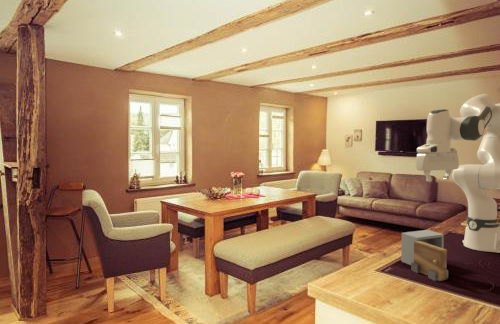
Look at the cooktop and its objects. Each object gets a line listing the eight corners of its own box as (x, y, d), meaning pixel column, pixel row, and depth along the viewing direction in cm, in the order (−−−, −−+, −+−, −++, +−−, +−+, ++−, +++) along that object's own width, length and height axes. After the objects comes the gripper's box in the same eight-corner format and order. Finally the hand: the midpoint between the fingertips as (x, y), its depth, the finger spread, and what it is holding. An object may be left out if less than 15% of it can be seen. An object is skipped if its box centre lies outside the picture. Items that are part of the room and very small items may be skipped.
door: (419, 268, 134) (420, 240, 134) (446, 279, 123) (446, 249, 122) (411, 269, 133) (411, 242, 132) (437, 281, 122) (438, 250, 121)
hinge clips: (423, 268, 134) (423, 260, 134) (448, 278, 124) (448, 270, 124) (411, 270, 132) (411, 262, 132) (435, 280, 122) (435, 272, 122)
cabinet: (427, 257, 147) (427, 229, 146) (443, 263, 139) (443, 234, 139) (401, 261, 142) (401, 232, 142) (416, 267, 135) (416, 237, 134)
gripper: (450, 147, 150) (449, 179, 151) (413, 148, 143) (413, 181, 144) (463, 147, 144) (462, 180, 145) (425, 148, 137) (425, 182, 138)
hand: (437, 180), depth 144 cm, fingers open, 8 cm apart
